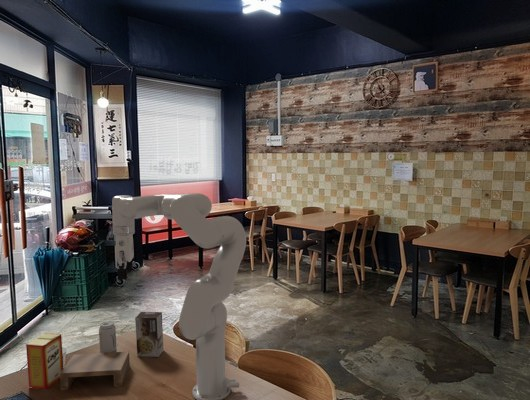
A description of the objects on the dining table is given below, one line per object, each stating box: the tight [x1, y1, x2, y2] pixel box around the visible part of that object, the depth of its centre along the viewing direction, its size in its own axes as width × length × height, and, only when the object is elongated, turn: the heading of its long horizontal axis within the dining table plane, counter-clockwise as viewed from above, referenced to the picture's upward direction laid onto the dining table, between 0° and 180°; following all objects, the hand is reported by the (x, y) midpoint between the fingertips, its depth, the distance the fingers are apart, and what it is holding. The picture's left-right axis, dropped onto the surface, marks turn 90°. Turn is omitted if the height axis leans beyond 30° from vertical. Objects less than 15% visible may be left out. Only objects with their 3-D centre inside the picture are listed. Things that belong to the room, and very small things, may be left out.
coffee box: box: [134, 311, 164, 358], centre depth 173 cm, size 9×6×16 cm
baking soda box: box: [25, 332, 64, 390], centre depth 152 cm, size 10×6×16 cm
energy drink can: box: [98, 320, 118, 353], centre depth 166 cm, size 6×6×15 cm
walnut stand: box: [59, 351, 131, 391], centre depth 154 cm, size 20×14×6 cm
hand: (124, 275), depth 159 cm, fingers open, 9 cm apart
